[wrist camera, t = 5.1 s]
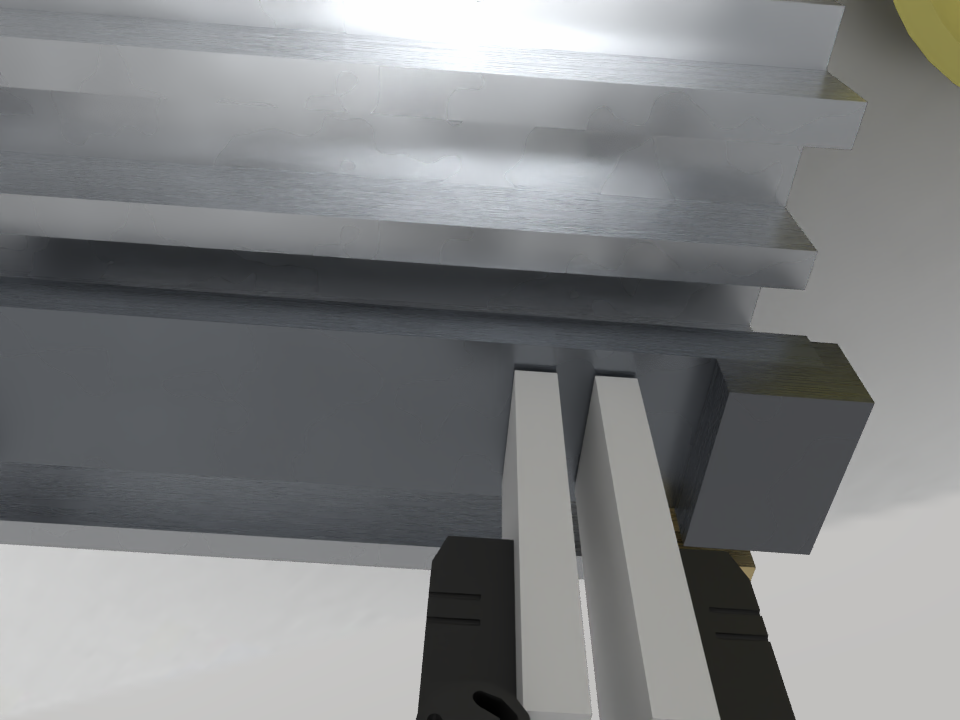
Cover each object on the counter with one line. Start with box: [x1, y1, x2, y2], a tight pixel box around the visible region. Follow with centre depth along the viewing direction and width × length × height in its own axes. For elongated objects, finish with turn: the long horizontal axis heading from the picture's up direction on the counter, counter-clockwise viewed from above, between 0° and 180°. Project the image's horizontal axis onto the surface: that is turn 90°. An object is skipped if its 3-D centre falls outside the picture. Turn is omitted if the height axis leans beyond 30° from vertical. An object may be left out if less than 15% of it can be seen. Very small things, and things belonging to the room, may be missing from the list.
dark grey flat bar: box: [0, 277, 874, 555], centre depth 15 cm, size 18×4×2 cm, turn 86°
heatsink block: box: [0, 0, 868, 581], centre depth 18 cm, size 20×14×12 cm
